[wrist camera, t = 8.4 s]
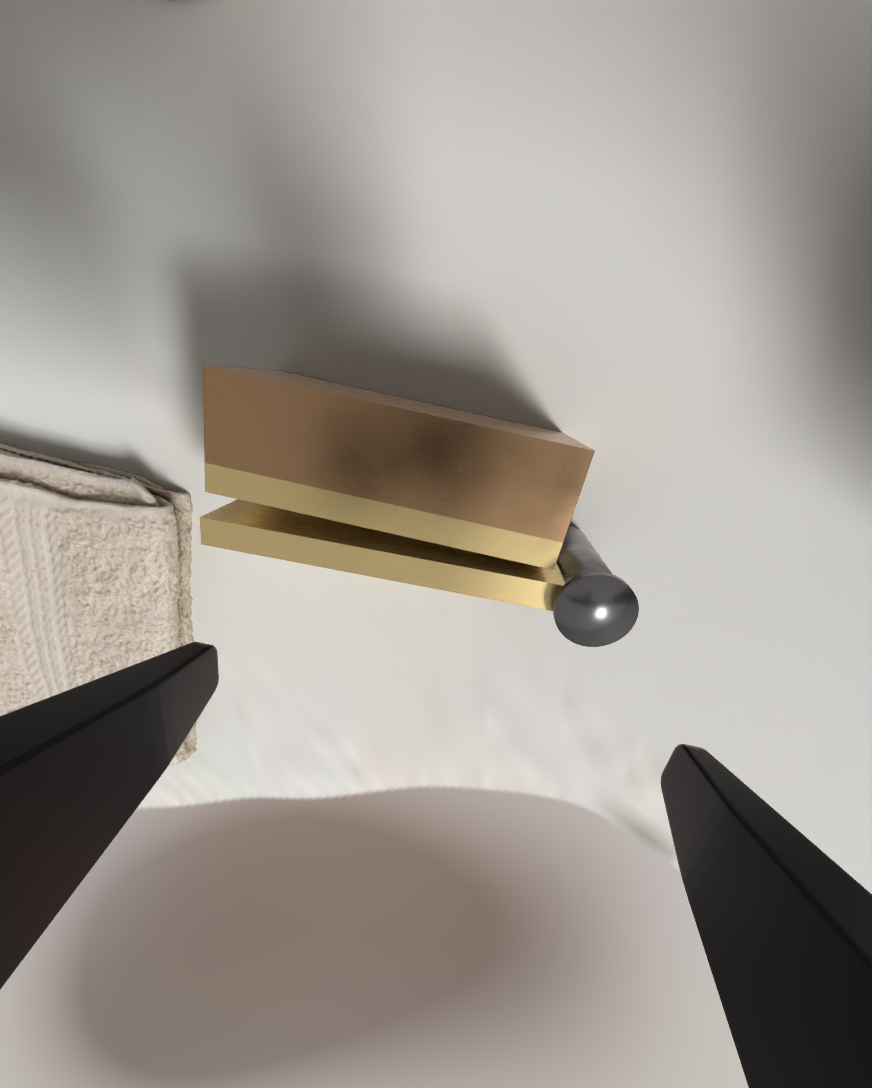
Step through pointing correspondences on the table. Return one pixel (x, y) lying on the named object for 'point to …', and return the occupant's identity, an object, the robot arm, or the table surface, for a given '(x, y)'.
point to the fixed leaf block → (391, 463)
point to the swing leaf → (438, 566)
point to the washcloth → (87, 575)
